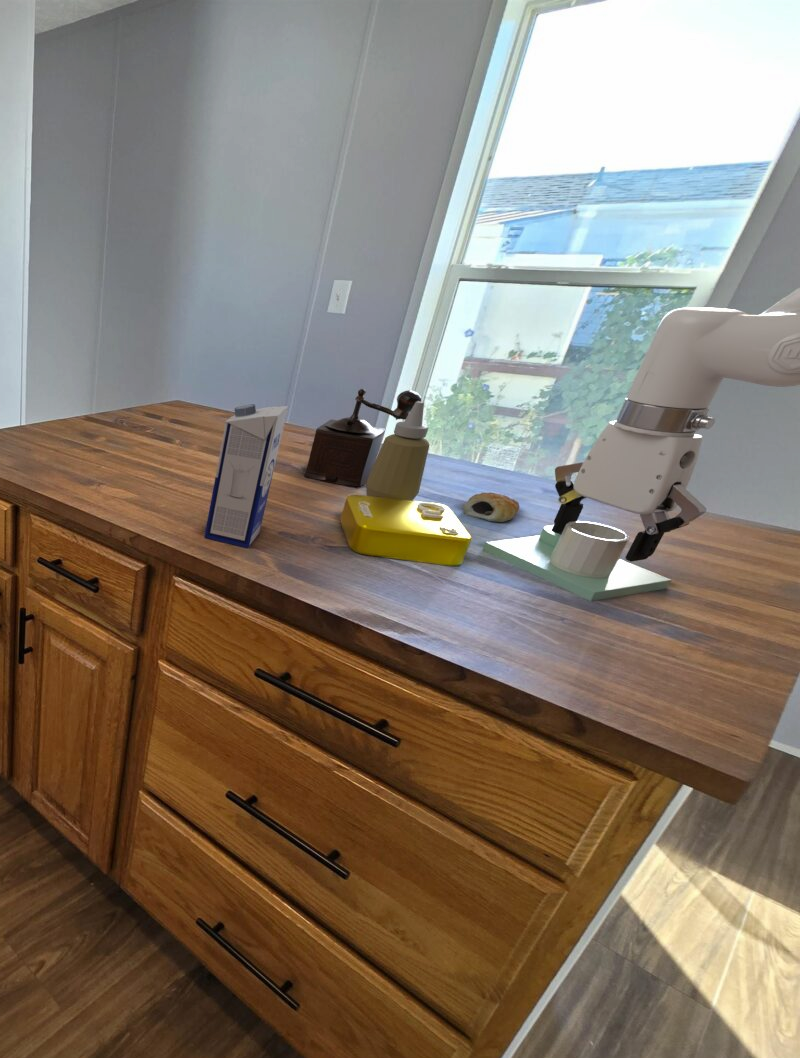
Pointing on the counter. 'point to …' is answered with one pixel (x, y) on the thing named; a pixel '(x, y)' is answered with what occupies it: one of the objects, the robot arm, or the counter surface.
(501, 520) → the pastry
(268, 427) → the milk carton
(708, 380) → the robot arm
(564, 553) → the small bowl
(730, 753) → the counter surface
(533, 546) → the scale
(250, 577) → the counter surface
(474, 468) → the counter surface
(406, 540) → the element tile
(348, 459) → the manual coffee grinder
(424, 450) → the squeeze bottle
